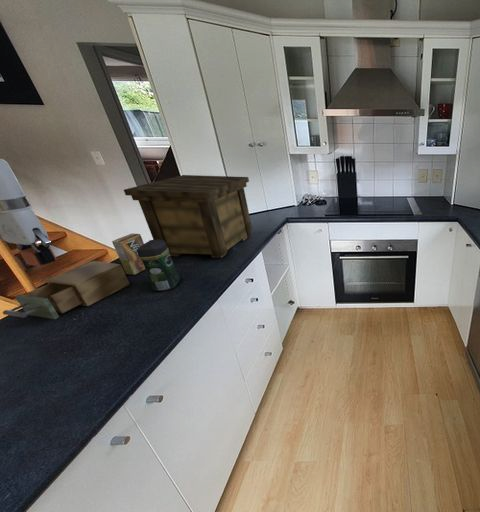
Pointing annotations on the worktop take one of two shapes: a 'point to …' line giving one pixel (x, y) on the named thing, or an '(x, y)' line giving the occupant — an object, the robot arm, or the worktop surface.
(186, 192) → the crate
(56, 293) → the drawer
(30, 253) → the block
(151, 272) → the coffee jar
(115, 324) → the worktop surface
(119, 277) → the cabinet
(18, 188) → the robot arm
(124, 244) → the candy box
